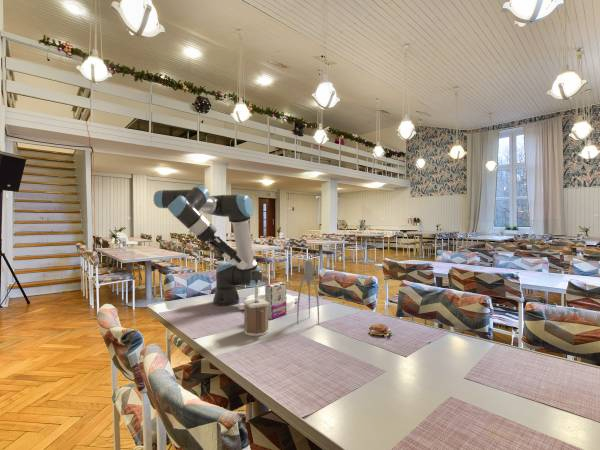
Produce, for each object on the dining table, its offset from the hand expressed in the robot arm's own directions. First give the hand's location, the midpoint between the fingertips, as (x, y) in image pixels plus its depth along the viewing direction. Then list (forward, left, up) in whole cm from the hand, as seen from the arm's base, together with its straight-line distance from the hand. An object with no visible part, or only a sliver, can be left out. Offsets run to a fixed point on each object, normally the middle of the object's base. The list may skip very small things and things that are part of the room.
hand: (239, 265), depth 130 cm
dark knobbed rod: (-1, +8, -21) cm, 22 cm away
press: (0, +8, -30) cm, 31 cm away
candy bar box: (-17, +25, -30) cm, 42 cm away
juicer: (-3, +36, -30) cm, 47 cm away
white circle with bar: (-35, +30, -30) cm, 55 cm away
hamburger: (+29, +54, -31) cm, 68 cm away
